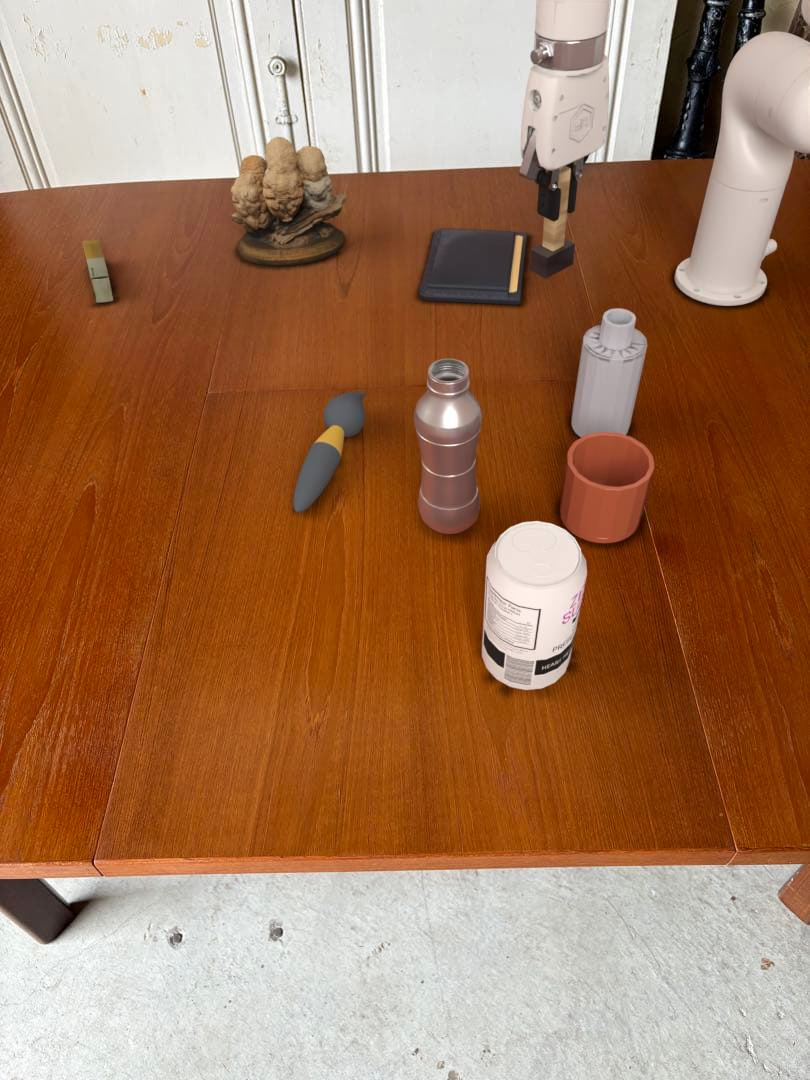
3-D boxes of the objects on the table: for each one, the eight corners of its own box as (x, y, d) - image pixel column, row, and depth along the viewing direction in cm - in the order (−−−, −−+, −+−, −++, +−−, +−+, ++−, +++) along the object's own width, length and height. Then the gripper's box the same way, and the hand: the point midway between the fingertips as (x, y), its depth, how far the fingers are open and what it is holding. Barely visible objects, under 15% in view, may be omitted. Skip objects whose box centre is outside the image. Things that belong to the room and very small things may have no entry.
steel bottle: (598, 399, 101) (616, 292, 90) (640, 426, 98) (665, 318, 86) (559, 423, 99) (573, 315, 87) (601, 451, 95) (622, 343, 84)
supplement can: (475, 625, 79) (479, 520, 68) (559, 617, 80) (577, 512, 68) (488, 697, 74) (494, 597, 63) (577, 689, 74) (600, 587, 63)
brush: (556, 256, 108) (564, 157, 99) (573, 264, 107) (583, 165, 97) (529, 270, 107) (535, 171, 97) (545, 279, 105) (553, 179, 95)
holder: (597, 475, 92) (607, 420, 86) (656, 516, 88) (672, 462, 82) (543, 510, 89) (549, 457, 83) (602, 556, 84) (613, 502, 78)
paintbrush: (330, 524, 89) (325, 491, 85) (287, 518, 90) (280, 485, 86) (375, 410, 102) (372, 377, 98) (337, 405, 103) (333, 373, 99)
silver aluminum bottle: (475, 545, 86) (480, 395, 71) (412, 537, 87) (405, 388, 72) (483, 502, 90) (490, 352, 75) (423, 495, 91) (418, 346, 76)
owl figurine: (348, 223, 134) (337, 114, 121) (353, 260, 126) (342, 147, 113) (238, 233, 133) (216, 124, 120) (236, 271, 125) (212, 159, 112)
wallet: (435, 220, 129) (532, 225, 127) (435, 231, 131) (531, 237, 128) (413, 288, 116) (520, 295, 114) (414, 300, 118) (519, 307, 115)
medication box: (115, 301, 121) (109, 277, 118) (96, 304, 120) (90, 279, 117) (104, 261, 128) (99, 237, 125) (86, 263, 127) (80, 239, 124)
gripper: (540, 79, 82) (530, 247, 96) (646, 36, 88) (622, 201, 102) (490, 61, 86) (487, 225, 100) (594, 21, 92) (578, 181, 106)
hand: (555, 212), depth 101 cm, fingers closed on brush, 2 cm apart
